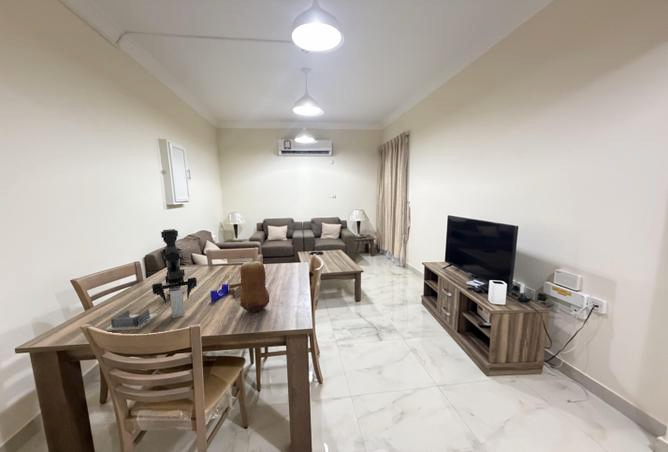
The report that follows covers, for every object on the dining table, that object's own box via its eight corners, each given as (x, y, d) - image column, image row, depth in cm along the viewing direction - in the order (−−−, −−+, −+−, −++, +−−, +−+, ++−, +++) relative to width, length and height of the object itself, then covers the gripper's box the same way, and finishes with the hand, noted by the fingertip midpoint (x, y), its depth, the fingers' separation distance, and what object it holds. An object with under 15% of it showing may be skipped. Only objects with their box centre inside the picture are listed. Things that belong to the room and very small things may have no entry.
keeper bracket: (128, 316, 127) (127, 307, 126) (157, 315, 127) (157, 306, 127) (106, 330, 114) (105, 320, 113) (139, 328, 115) (138, 319, 114)
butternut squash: (261, 302, 140) (258, 256, 138) (274, 310, 131) (272, 261, 128) (236, 310, 131) (232, 262, 128) (248, 319, 121) (245, 266, 118)
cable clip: (221, 293, 156) (221, 283, 155) (228, 293, 155) (228, 283, 154) (208, 301, 144) (207, 290, 143) (216, 301, 143) (215, 291, 143)
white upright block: (172, 314, 128) (169, 288, 127) (183, 311, 131) (181, 286, 130) (172, 318, 124) (169, 291, 123) (184, 315, 127) (182, 289, 125)
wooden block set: (226, 281, 161) (256, 276, 170) (227, 290, 161) (256, 284, 171) (232, 289, 146) (264, 283, 156) (233, 299, 147) (264, 292, 157)
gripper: (150, 267, 124) (151, 297, 116) (194, 261, 134) (199, 288, 126) (152, 279, 131) (154, 308, 123) (194, 273, 141) (198, 299, 133)
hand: (177, 300), depth 126 cm, fingers open, 9 cm apart
